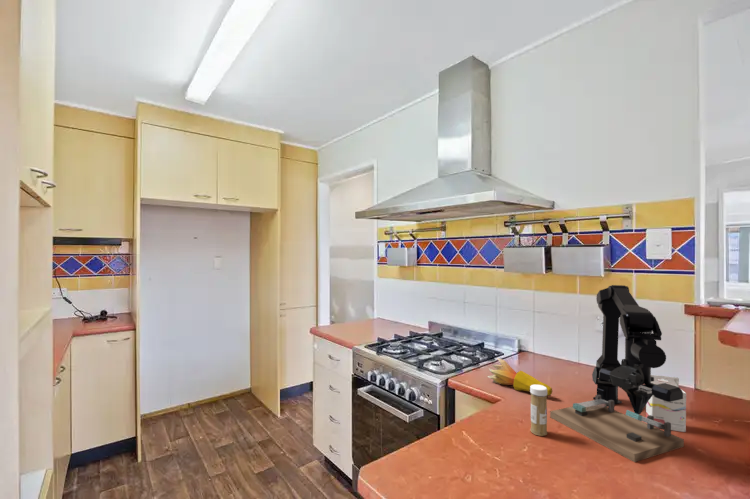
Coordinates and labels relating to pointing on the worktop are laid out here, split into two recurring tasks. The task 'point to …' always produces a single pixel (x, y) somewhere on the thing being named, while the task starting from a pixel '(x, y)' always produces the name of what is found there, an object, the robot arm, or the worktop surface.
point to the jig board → (619, 431)
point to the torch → (514, 377)
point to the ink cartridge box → (668, 407)
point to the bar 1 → (590, 405)
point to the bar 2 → (644, 419)
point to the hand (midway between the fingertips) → (637, 414)
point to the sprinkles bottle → (538, 410)
